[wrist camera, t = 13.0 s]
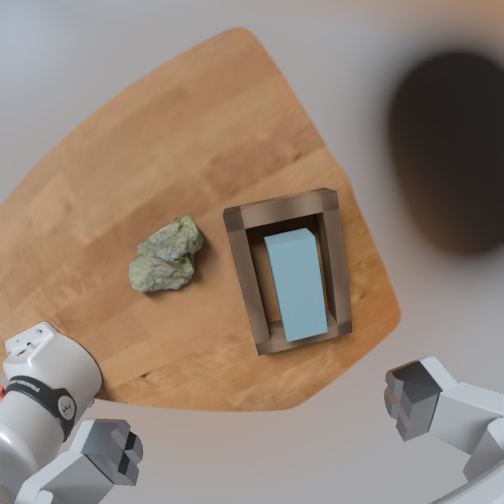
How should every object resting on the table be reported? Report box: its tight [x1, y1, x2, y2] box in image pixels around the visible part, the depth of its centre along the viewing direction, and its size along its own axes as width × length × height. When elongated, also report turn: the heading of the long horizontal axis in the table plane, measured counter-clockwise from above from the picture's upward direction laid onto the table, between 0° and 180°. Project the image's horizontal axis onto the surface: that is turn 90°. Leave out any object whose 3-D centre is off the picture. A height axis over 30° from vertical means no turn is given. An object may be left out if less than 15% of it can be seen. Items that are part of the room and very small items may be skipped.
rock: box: [129, 215, 204, 293], centre depth 36 cm, size 11×6×10 cm
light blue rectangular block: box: [264, 228, 328, 342], centre depth 35 cm, size 12×5×4 cm, turn 13°
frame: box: [223, 188, 352, 356], centre depth 38 cm, size 13×19×4 cm
